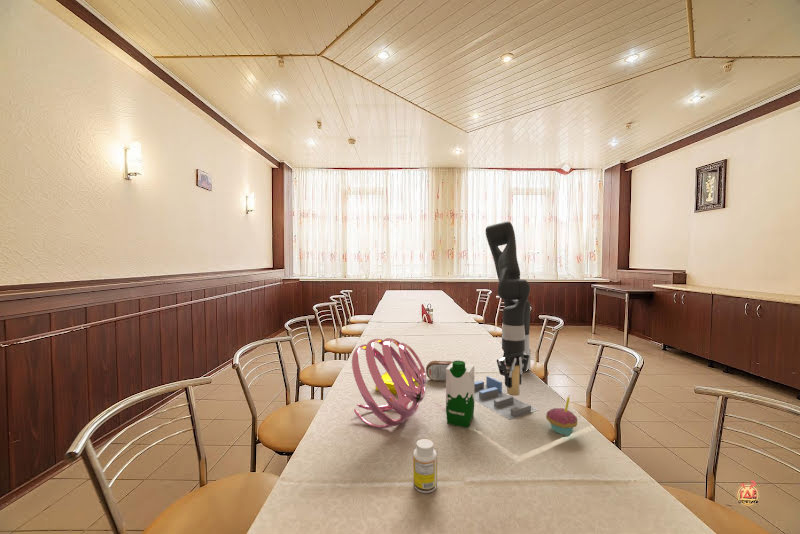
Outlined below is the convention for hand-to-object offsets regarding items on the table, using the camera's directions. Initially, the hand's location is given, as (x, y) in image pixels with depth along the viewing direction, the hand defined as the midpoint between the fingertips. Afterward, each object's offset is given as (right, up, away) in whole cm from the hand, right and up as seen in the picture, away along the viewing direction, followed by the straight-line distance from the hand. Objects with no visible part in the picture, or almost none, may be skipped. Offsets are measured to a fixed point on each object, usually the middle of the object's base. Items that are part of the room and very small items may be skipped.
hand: (513, 385), depth 114 cm
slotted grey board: (-4, -9, +7) cm, 12 cm away
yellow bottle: (0, -3, 0) cm, 3 cm away
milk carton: (-20, -10, -6) cm, 23 cm away
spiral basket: (-43, -10, -6) cm, 44 cm away
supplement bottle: (-34, -11, -37) cm, 51 cm away
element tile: (-40, -9, +22) cm, 47 cm away
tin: (-21, -9, +28) cm, 36 cm away
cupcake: (+10, -10, -14) cm, 20 cm away
